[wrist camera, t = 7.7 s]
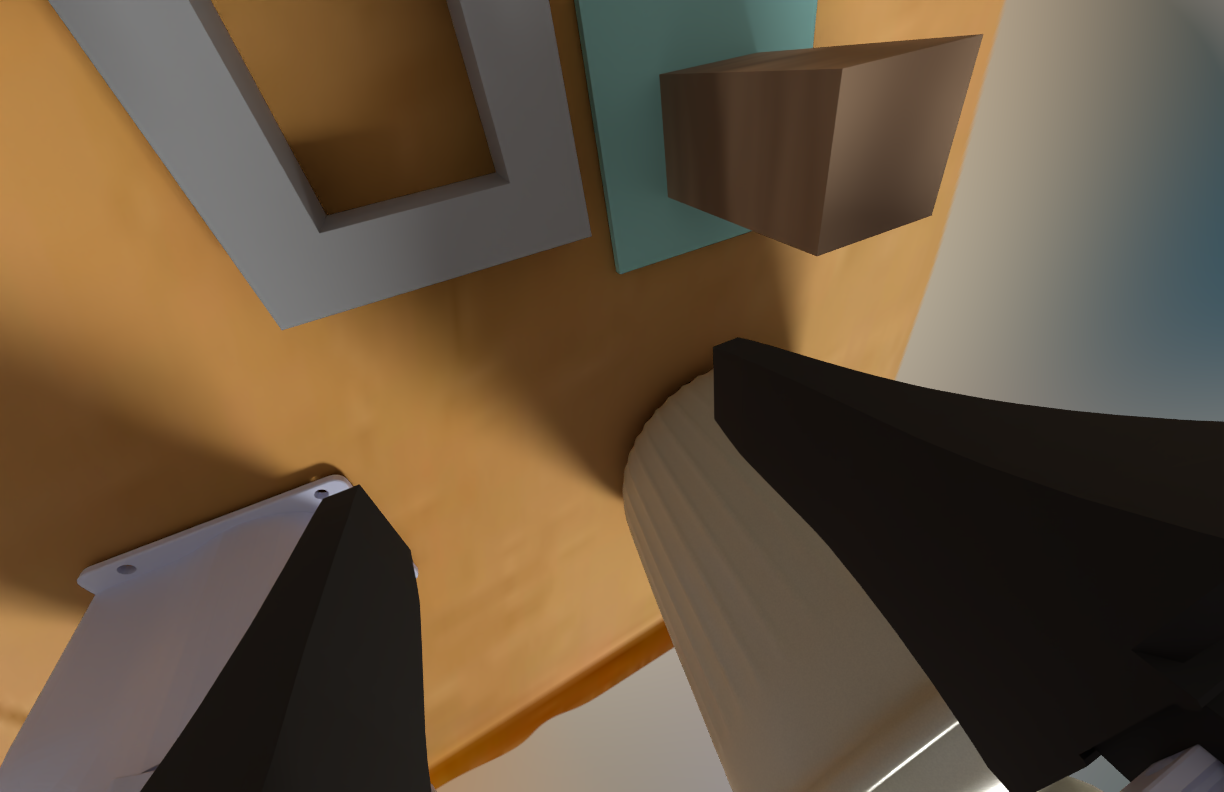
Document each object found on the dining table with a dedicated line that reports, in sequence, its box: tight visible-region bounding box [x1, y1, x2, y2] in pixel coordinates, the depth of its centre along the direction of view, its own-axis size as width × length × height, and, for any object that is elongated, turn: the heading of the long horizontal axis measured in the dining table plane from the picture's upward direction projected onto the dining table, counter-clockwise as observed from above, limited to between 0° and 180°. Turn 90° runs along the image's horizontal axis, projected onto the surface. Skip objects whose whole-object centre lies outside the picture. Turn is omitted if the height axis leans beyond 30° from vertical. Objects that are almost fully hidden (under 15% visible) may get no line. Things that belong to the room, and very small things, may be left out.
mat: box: [574, 0, 817, 274], centre depth 17 cm, size 9×9×1 cm
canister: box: [623, 369, 1103, 792], centre depth 20 cm, size 18×18×21 cm
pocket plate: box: [48, 0, 592, 330], centre depth 12 cm, size 10×10×2 cm
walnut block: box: [659, 34, 983, 256], centre depth 14 cm, size 4×4×8 cm
